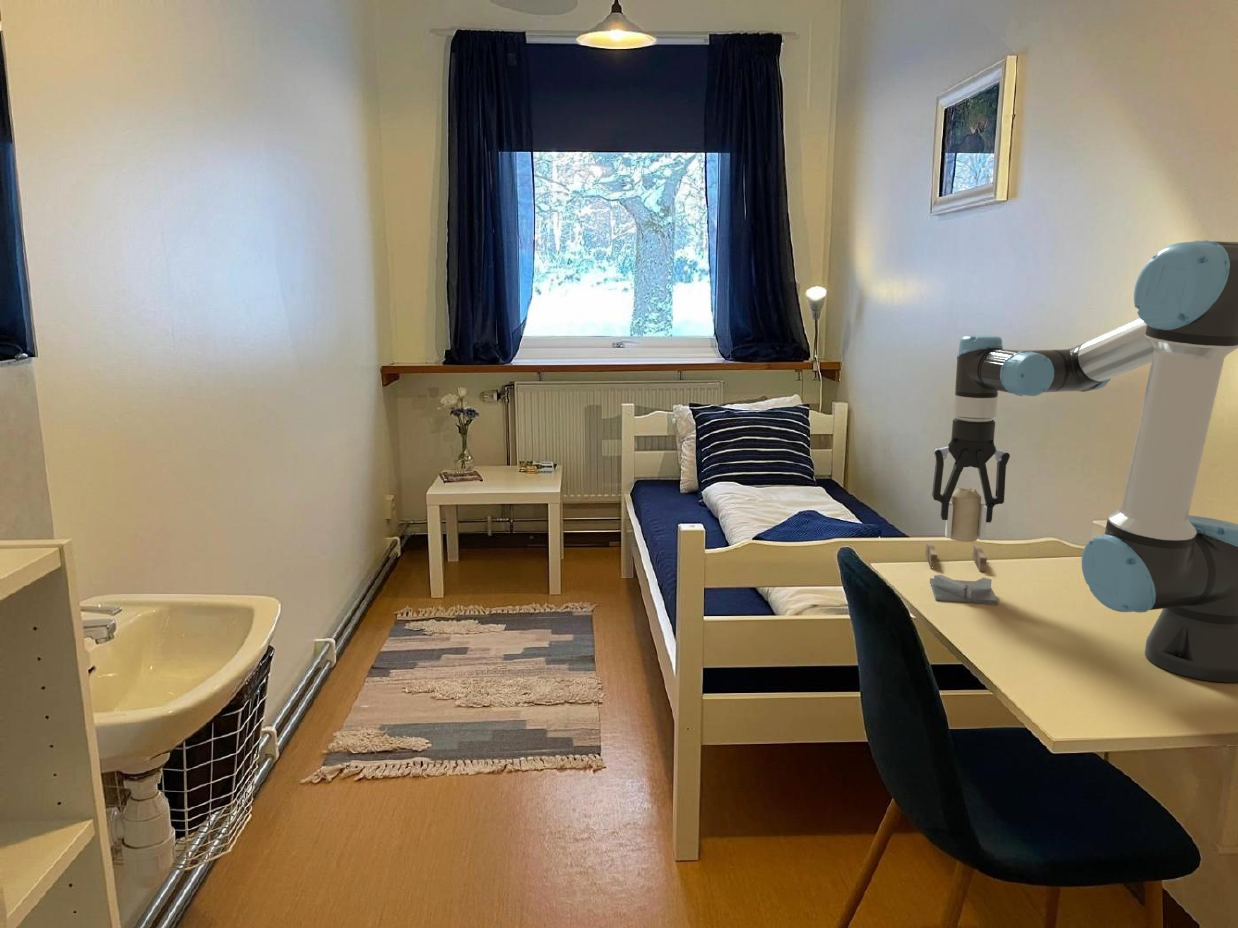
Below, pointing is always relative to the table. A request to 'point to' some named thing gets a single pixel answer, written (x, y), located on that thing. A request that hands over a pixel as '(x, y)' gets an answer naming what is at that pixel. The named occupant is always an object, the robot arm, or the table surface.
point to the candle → (965, 515)
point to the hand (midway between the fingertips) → (964, 536)
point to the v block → (963, 590)
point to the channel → (977, 556)
